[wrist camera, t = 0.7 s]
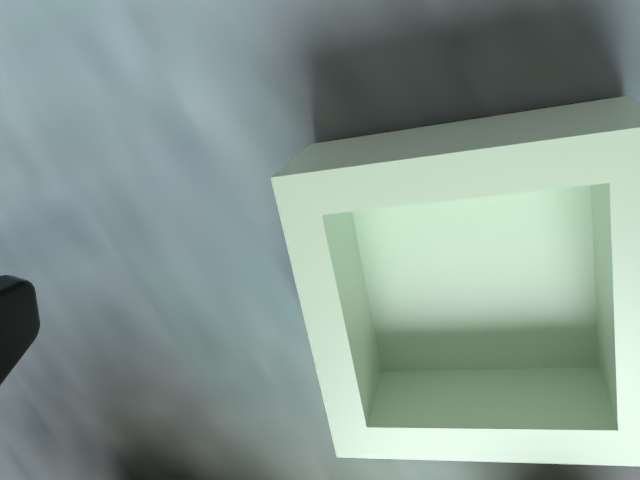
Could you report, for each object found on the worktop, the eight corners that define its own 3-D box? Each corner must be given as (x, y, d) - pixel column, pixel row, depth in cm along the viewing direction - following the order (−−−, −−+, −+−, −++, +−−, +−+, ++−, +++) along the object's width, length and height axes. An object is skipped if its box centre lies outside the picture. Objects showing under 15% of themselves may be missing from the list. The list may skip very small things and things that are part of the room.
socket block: (361, 383, 22) (337, 457, 19) (311, 143, 19) (270, 177, 15) (635, 379, 19) (668, 467, 16) (628, 95, 16) (669, 123, 12)
